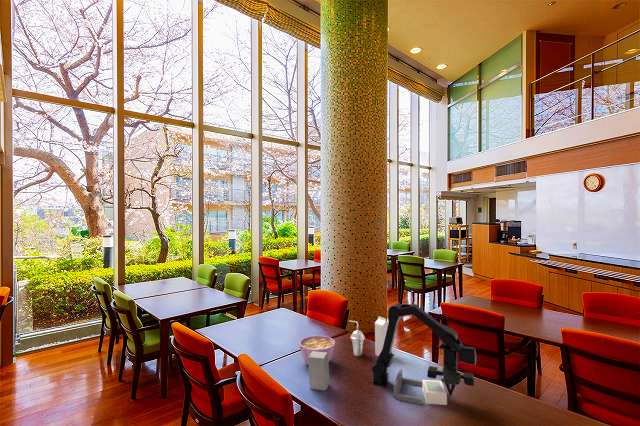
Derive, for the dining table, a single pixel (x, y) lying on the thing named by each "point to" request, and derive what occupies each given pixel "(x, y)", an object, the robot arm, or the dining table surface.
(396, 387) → the display stand
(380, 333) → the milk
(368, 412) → the dining table surface
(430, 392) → the carton
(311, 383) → the skincare box
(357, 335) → the cup with straw
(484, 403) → the dining table surface
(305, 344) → the bowl of food
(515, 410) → the dining table surface
